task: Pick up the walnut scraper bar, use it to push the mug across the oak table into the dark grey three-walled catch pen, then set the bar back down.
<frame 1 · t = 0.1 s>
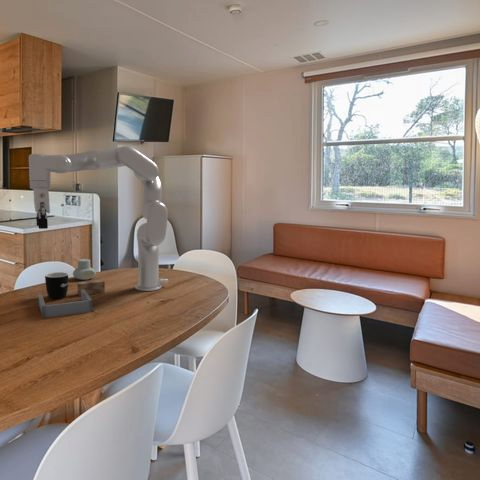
hand: (42, 227, 155), 31 cm above the table, tool pointing down, fingers open, 9 cm apart
catch pen: (65, 307, 151), on the table
mug: (59, 296, 165), on the table
air freshener: (84, 279, 195), on the table
scraper bar: (91, 293, 171), on the table
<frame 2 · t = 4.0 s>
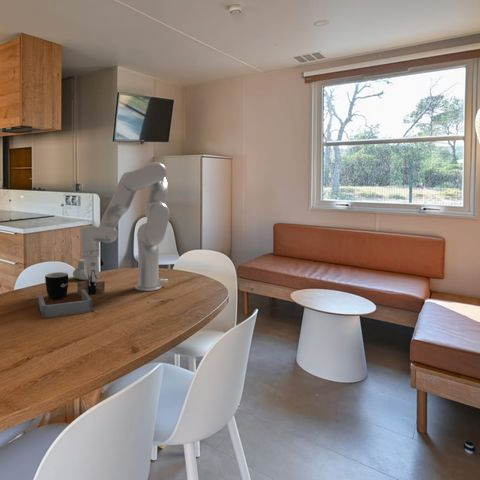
hand: (91, 292, 171), 0 cm above the table, tool pointing down, fingers closed on scraper bar, 3 cm apart
scraper bar: (91, 293, 171), on the table, touching gripper
everything else where it was.
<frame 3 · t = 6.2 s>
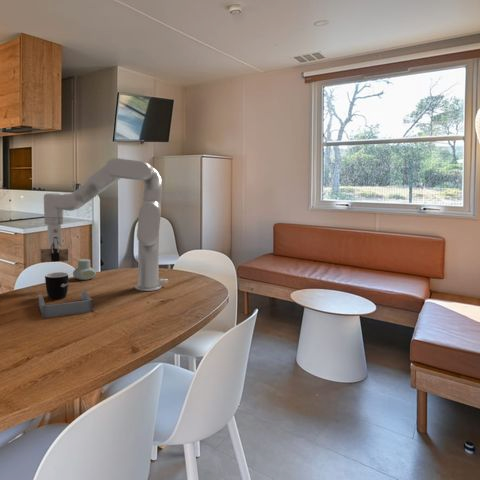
hand: (54, 260, 173), 14 cm above the table, tool pointing down, fingers closed on scraper bar, 3 cm apart
scraper bar: (54, 260, 173), point 14 cm above the table, touching gripper
everything else where it was.
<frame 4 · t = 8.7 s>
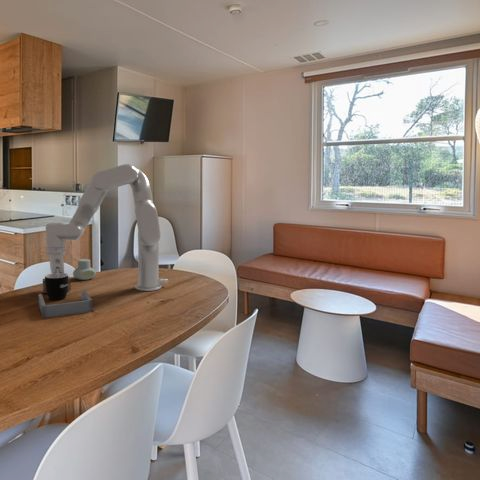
hand: (57, 289, 171), 1 cm above the table, tool pointing down, fingers closed on scraper bar, 3 cm apart
mug: (59, 297, 164), on the table, touching gripper
scraper bar: (57, 290, 171), point 1 cm above the table, touching gripper
everything else where it was.
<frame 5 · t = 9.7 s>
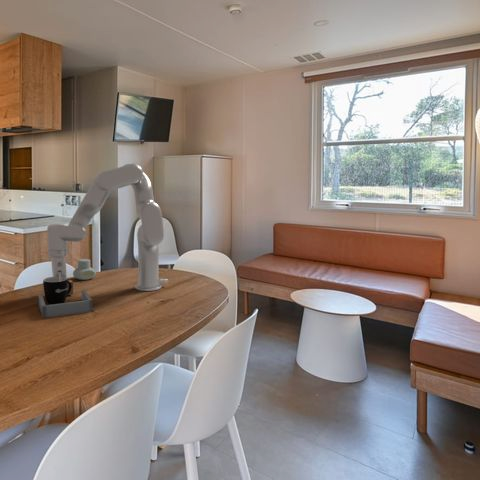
hand: (59, 293, 165), 1 cm above the table, tool pointing down, fingers closed on scraper bar, 3 cm apart
mug: (59, 302, 157), on the table, touching gripper
scraper bar: (59, 294, 165), point 1 cm above the table, touching gripper
everything else where it was.
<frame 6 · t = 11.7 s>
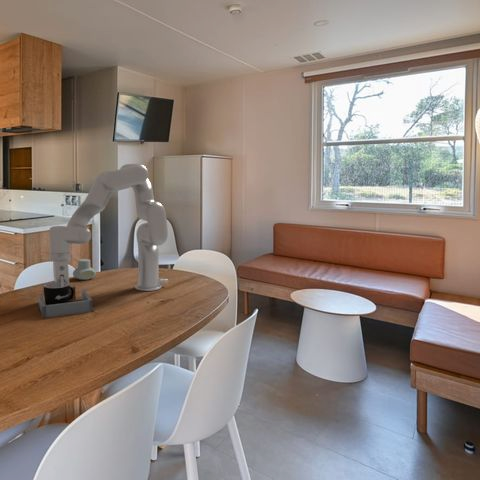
hand: (60, 299, 156), 1 cm above the table, tool pointing down, fingers closed on scraper bar, 3 cm apart
mug: (60, 308, 149), on the table, touching gripper
scraper bar: (60, 299, 156), point 1 cm above the table, touching gripper
everything else where it was.
when the fingers open (1 cm above the table, at t = 16.0 s): scraper bar drops 1 cm, on the table.
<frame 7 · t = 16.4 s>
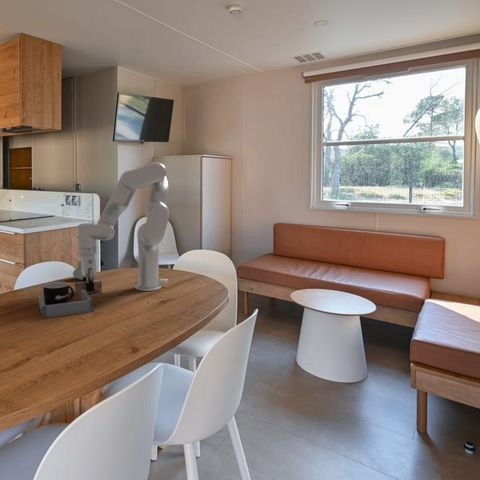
hand: (88, 288, 171), 2 cm above the table, tool pointing down, fingers open, 8 cm apart
mug: (60, 309, 149), on the table
scraper bar: (88, 293, 171), on the table
everything else where it was.
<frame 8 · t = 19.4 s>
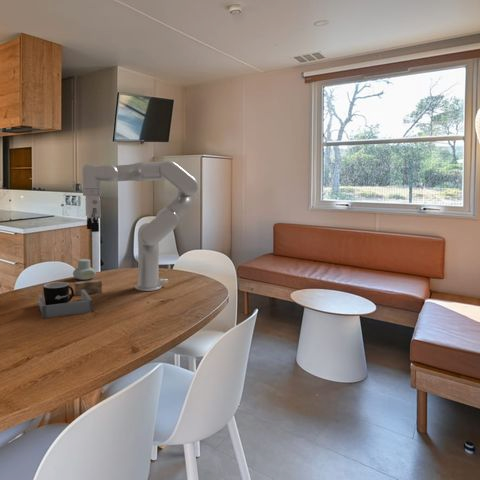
hand: (92, 230, 171), 28 cm above the table, tool pointing down, fingers open, 9 cm apart
nothing on the table moved.
at the end: mug inside the target area on the catch pen (1.8 cm from its centre), point 0.0 cm above the catch pen's base; mug tilted 0°; the gripper is holding nothing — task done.
